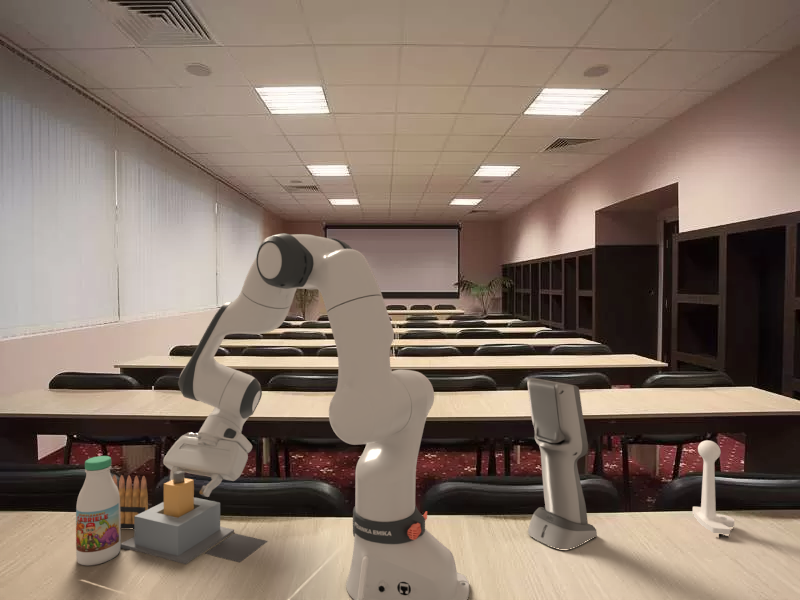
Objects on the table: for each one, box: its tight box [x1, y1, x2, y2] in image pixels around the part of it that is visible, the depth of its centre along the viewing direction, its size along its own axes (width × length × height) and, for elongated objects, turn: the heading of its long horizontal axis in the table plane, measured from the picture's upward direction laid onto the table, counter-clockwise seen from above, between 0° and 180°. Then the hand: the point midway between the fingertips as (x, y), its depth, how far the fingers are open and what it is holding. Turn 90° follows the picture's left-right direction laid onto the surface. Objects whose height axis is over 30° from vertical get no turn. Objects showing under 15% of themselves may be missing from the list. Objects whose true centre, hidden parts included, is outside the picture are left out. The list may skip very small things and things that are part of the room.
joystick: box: [692, 439, 735, 535], centre depth 113 cm, size 11×8×20 cm
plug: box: [163, 471, 195, 518], centre depth 107 cm, size 4×4×14 cm
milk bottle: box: [75, 455, 122, 566], centre depth 100 cm, size 8×8×20 cm
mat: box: [203, 532, 269, 563], centre depth 103 cm, size 9×9×1 cm
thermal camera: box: [527, 377, 598, 549], centre depth 109 cm, size 12×13×35 cm
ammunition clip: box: [112, 474, 150, 530], centre depth 112 cm, size 11×2×12 cm, turn 86°
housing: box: [120, 497, 235, 565], centre depth 107 cm, size 18×14×7 cm
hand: (186, 492), depth 109 cm, fingers open, 8 cm apart
